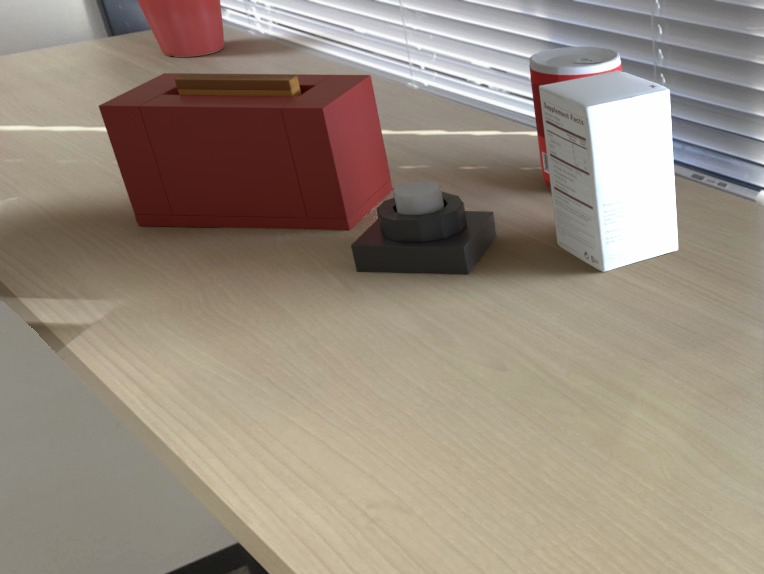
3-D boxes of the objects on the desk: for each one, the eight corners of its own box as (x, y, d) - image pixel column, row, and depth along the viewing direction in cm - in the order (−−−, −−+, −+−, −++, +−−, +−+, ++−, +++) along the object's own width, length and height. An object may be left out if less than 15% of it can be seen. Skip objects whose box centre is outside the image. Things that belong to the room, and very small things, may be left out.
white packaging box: (632, 226, 97) (620, 67, 90) (680, 252, 92) (672, 86, 85) (554, 246, 94) (535, 83, 86) (600, 274, 89) (585, 104, 82)
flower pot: (150, 64, 147) (125, -20, 142) (150, 46, 156) (126, -34, 150) (238, 55, 151) (217, -28, 145) (233, 38, 159) (213, -41, 153)
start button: (390, 218, 90) (386, 195, 89) (406, 202, 93) (402, 180, 91) (435, 219, 89) (431, 196, 88) (450, 203, 92) (446, 181, 91)
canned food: (626, 196, 103) (616, 66, 97) (537, 197, 104) (521, 67, 97) (633, 169, 110) (624, 45, 103) (549, 170, 110) (535, 46, 103)
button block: (356, 272, 90) (345, 222, 88) (392, 235, 97) (382, 187, 94) (468, 275, 89) (460, 224, 87) (497, 237, 96) (490, 189, 93)
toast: (208, 198, 102) (174, 79, 96) (217, 191, 103) (184, 74, 98) (317, 200, 101) (288, 80, 95) (324, 194, 102) (297, 75, 97)
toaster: (137, 225, 100) (98, 105, 94) (197, 185, 108) (163, 72, 102) (349, 230, 98) (322, 108, 92) (393, 189, 106) (370, 74, 100)
